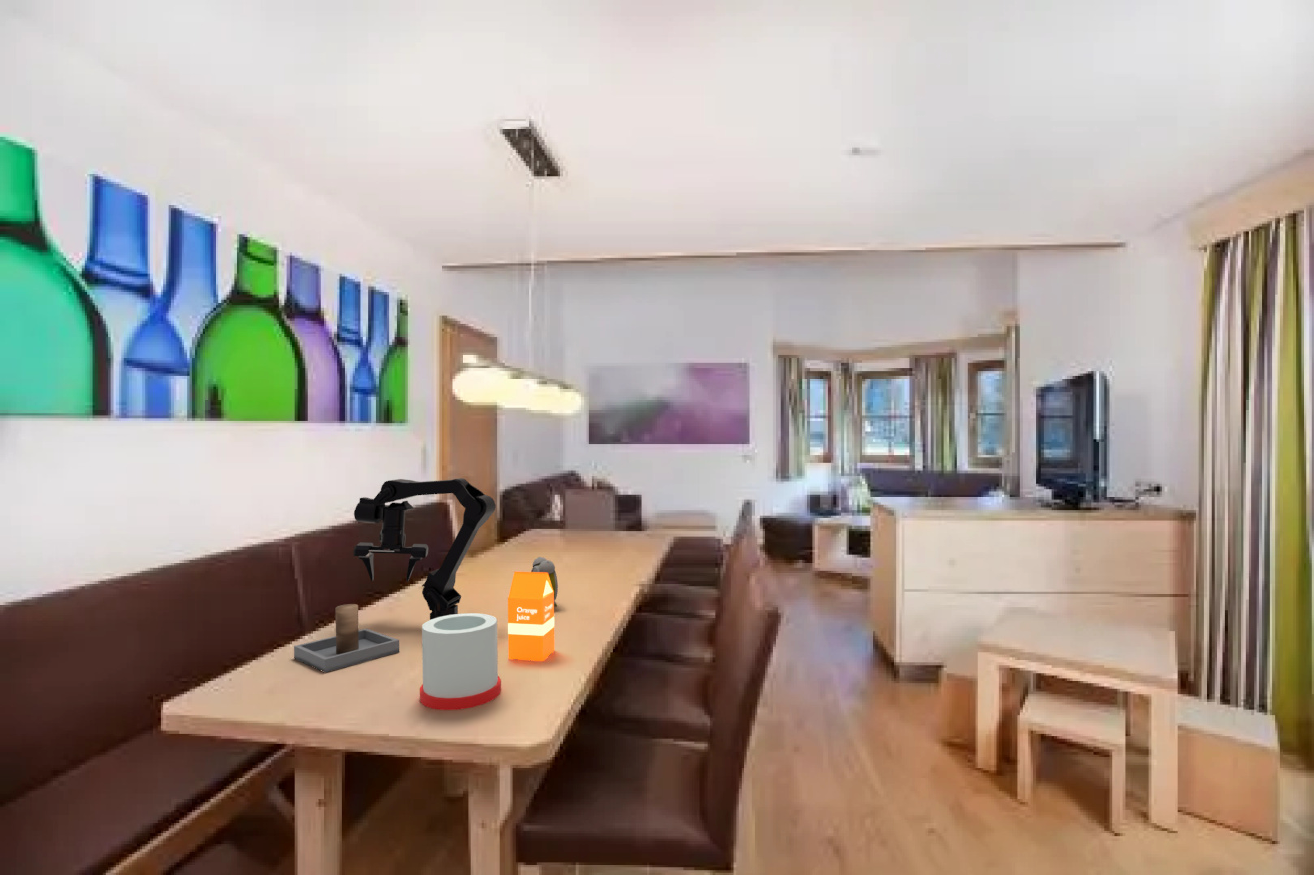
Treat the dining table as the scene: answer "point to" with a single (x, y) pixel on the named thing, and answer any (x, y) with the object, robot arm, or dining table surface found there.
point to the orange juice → (530, 616)
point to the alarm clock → (547, 567)
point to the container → (459, 661)
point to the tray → (326, 658)
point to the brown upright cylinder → (347, 628)
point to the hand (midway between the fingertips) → (389, 581)
